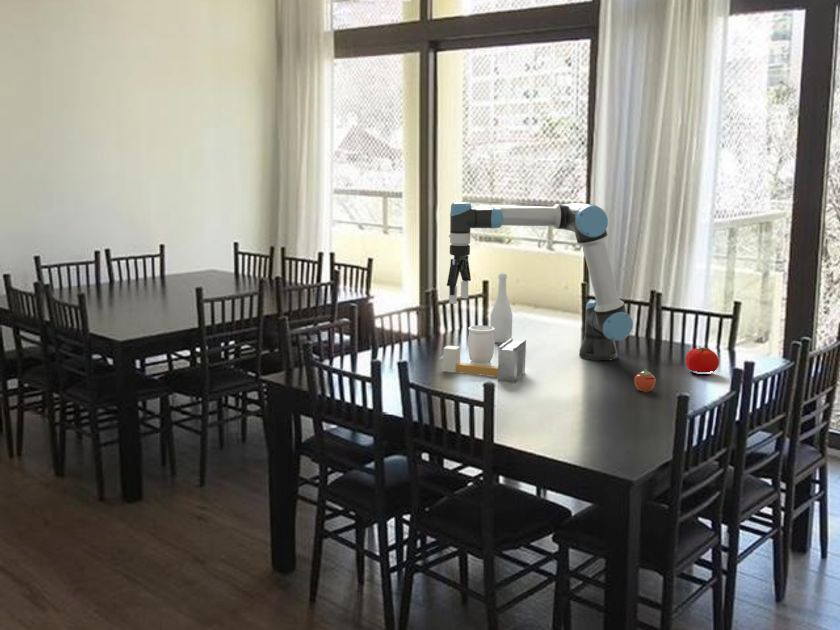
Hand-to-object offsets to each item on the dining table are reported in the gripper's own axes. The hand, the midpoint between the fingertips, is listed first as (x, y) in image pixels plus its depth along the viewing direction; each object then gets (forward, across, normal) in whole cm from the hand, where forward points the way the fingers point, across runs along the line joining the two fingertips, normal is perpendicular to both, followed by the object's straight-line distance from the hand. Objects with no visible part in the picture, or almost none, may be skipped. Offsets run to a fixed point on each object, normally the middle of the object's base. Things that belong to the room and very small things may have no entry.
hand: (458, 300), depth 328 cm
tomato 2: (+27, +1, +70) cm, 75 cm away
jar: (+27, -10, +6) cm, 29 cm away
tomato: (+27, -32, +87) cm, 96 cm away
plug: (+27, +2, +6) cm, 27 cm away
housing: (+27, +2, +22) cm, 35 cm away
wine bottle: (+27, -56, +1) cm, 62 cm away
